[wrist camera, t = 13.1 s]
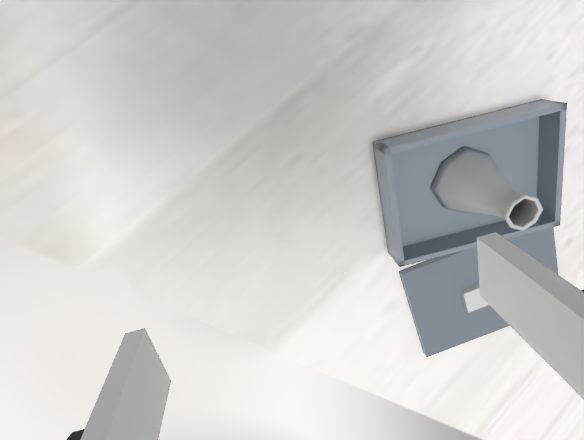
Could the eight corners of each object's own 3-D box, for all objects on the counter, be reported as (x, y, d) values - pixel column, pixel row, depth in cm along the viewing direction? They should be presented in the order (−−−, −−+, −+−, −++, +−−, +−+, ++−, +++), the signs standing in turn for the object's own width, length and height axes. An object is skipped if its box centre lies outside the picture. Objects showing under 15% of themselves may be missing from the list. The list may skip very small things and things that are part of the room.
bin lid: (399, 271, 47) (404, 278, 45) (547, 213, 46) (557, 218, 45) (424, 352, 52) (429, 361, 51) (556, 302, 52) (566, 309, 50)
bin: (372, 142, 40) (384, 149, 37) (541, 99, 41) (566, 103, 38) (388, 252, 46) (399, 266, 42) (537, 213, 46) (559, 225, 43)
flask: (418, 190, 42) (467, 226, 33) (463, 133, 41) (528, 155, 31) (464, 222, 45) (521, 264, 35) (508, 170, 43) (581, 200, 34)
